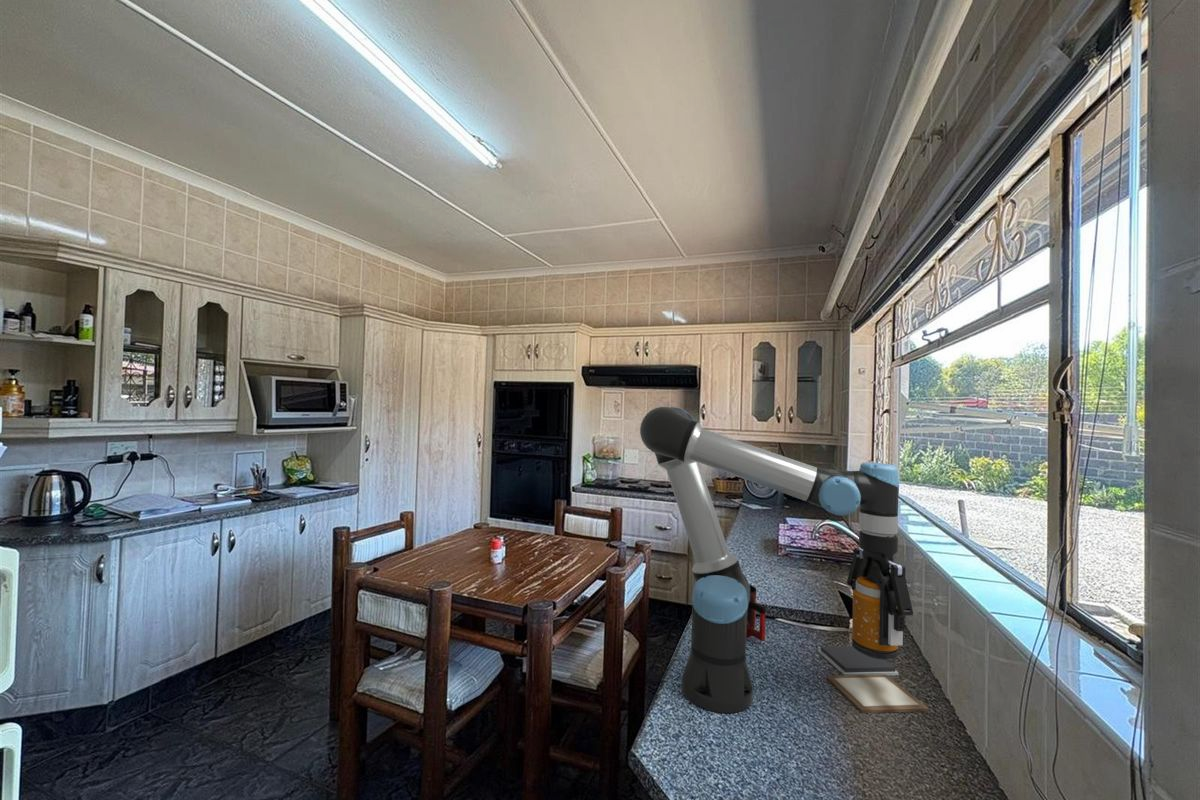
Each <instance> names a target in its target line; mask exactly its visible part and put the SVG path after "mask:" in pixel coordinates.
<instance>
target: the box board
mask: <svg viewBox="0 0 1200 800" xmlns="http://www.w3.org/2000/svg"><path fill="white" fill-rule="evenodd" d="M825 679H826V680H827V681H828V682H829V683H830V684H831V685H832V686H833V687H834V688H835V689H836V690H837V691H838V692H840V694H841V695H843V696H844V698H846V699H847V700H848V701H849V702H850V704H852V705H853V706H854V707H855V708H856V709H857V710H858V711H859V712H860V713H861V714H881V713H882V714H883V713H886V714H887V713H915V712H919V713H921V712H930V708H929V707H928V706H927V705H925V704H924V703H923V702H922V701H920V700H919V699H918V698H916V697H915V696H914V695H913V694H911V693H910V692H909V691H908V690H906V689H905V688H904V687H902V685H900V684H899V683H897V682H896V681H895V680H894V679H892V678H891V677H890V676H889V675H843V674H842V675H825Z"/></svg>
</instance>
